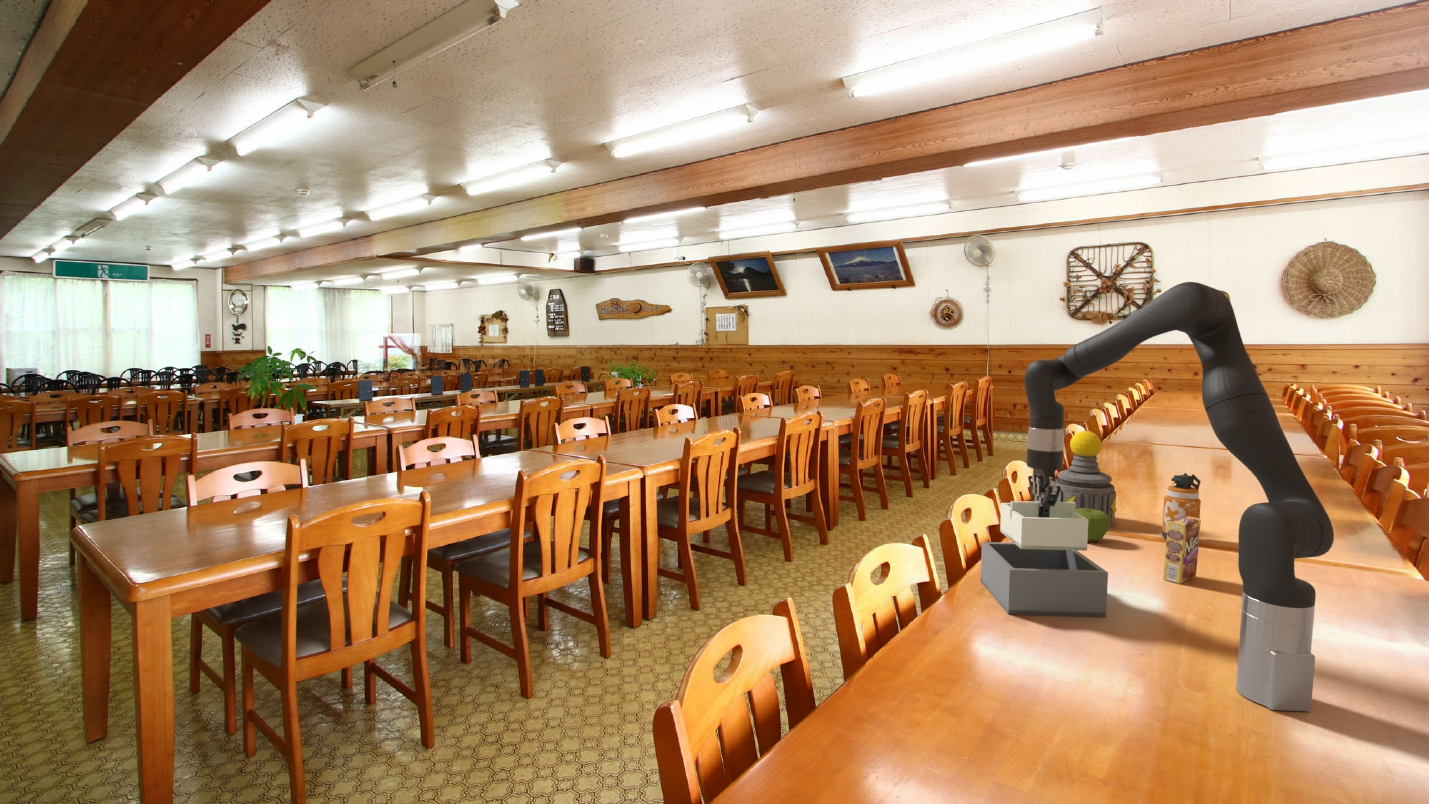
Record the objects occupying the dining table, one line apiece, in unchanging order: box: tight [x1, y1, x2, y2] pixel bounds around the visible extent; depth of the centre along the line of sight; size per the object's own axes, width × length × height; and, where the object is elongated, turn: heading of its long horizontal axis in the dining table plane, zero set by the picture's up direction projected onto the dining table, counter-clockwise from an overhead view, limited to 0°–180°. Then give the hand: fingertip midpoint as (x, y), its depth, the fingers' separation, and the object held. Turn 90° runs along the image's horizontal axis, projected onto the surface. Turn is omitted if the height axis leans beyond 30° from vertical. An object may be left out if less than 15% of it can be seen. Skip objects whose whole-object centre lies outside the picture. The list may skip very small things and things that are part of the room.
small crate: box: [999, 500, 1088, 551], centre depth 156 cm, size 14×14×9 cm
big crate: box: [980, 541, 1109, 618], centre depth 157 cm, size 20×20×10 cm
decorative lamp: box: [1056, 430, 1117, 526], centre depth 223 cm, size 19×19×30 cm
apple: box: [1075, 508, 1111, 543], centre depth 201 cm, size 11×10×10 cm
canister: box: [1161, 472, 1202, 540], centre depth 201 cm, size 9×11×20 cm
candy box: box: [1162, 516, 1202, 585], centre depth 169 cm, size 9×4×15 cm, turn 123°
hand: (1042, 521), depth 156 cm, fingers closed on small crate, 1 cm apart
